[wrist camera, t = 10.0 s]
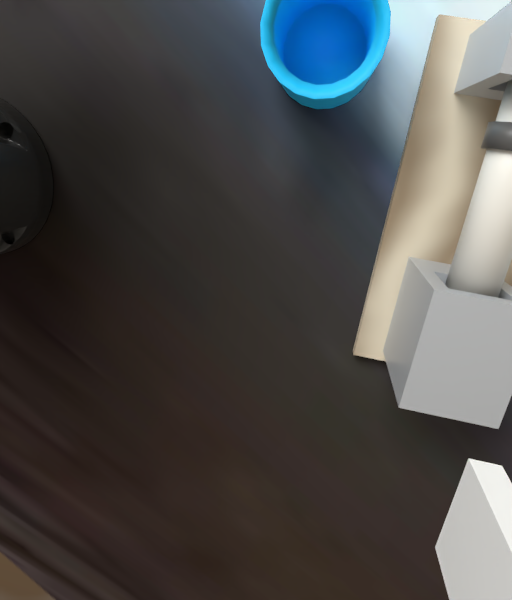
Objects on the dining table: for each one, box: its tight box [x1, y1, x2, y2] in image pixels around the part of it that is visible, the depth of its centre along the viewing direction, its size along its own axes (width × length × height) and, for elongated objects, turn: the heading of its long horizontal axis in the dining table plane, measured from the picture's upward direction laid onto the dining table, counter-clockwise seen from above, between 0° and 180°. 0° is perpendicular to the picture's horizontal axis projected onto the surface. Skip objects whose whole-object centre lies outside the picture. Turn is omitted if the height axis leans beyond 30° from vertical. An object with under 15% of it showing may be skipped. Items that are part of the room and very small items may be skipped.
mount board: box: [353, 15, 512, 361], centre depth 39 cm, size 12×28×1 cm, turn 171°
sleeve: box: [383, 257, 512, 429], centre depth 36 cm, size 9×7×10 cm
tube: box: [445, 80, 512, 298], centre depth 31 cm, size 18×4×4 cm, turn 171°
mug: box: [260, 0, 391, 109], centre depth 33 cm, size 12×8×8 cm
